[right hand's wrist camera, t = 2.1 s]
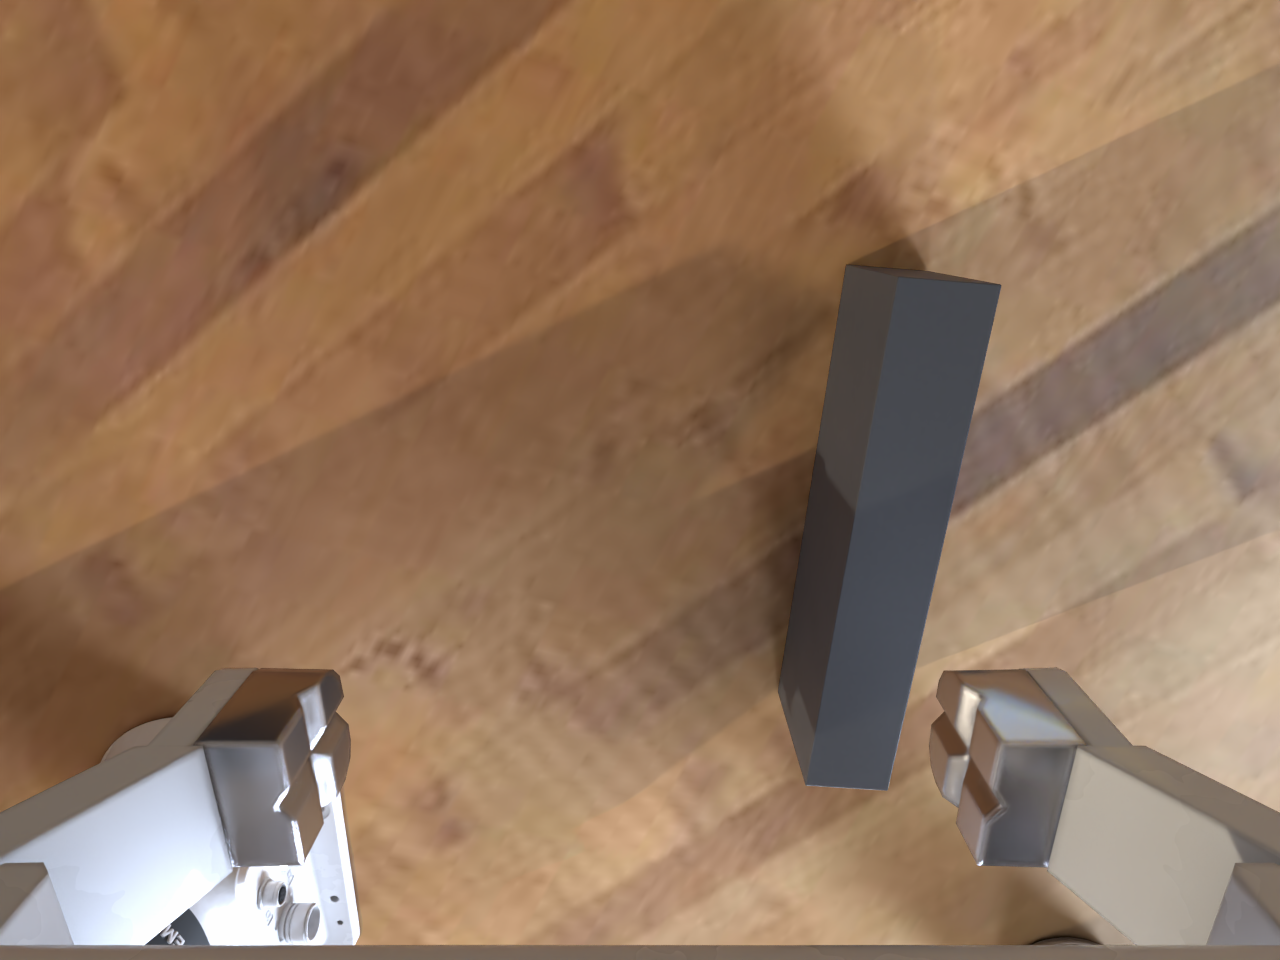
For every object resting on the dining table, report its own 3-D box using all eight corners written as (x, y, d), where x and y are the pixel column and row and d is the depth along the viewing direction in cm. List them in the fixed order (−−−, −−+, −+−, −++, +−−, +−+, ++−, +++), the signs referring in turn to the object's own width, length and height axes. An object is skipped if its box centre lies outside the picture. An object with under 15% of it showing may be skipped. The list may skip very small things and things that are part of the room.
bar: (846, 264, 41) (898, 276, 33) (929, 271, 41) (1001, 284, 33) (777, 691, 50) (805, 785, 41) (846, 696, 50) (888, 791, 41)
